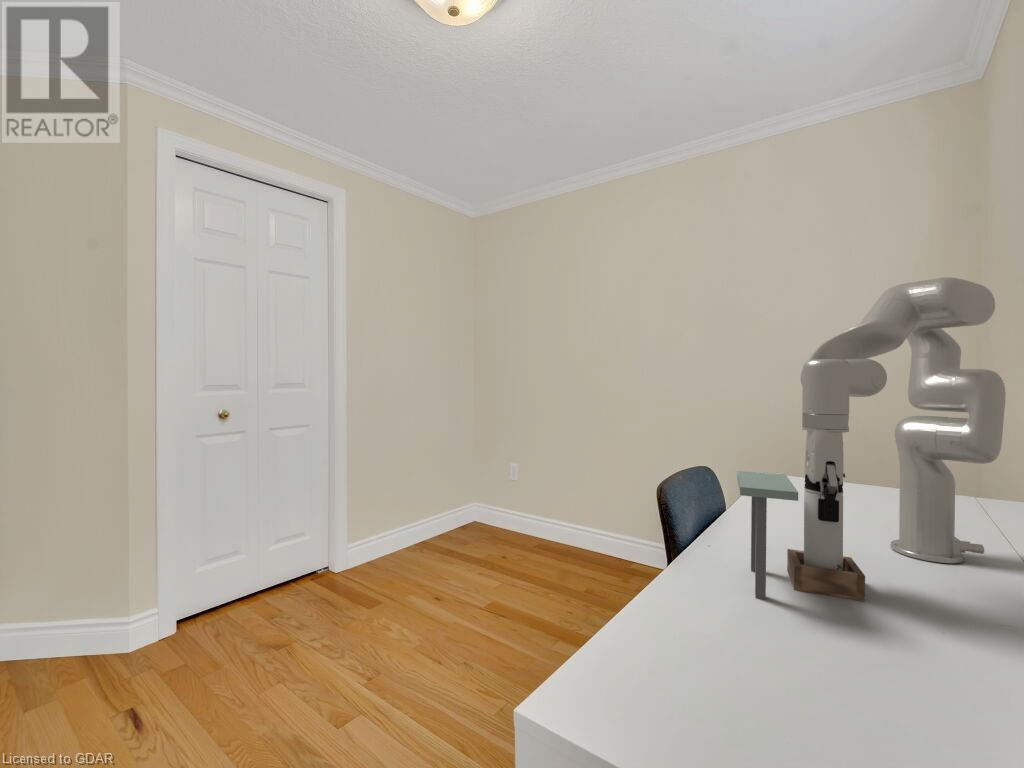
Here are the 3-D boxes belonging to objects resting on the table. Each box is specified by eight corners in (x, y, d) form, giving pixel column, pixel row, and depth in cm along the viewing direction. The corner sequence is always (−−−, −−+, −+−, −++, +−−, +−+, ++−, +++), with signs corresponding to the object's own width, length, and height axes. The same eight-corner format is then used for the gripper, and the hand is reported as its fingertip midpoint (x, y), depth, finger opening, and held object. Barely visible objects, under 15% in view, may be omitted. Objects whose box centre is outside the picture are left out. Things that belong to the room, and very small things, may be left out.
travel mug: (851, 583, 86) (852, 476, 86) (811, 580, 87) (812, 474, 87) (835, 570, 92) (835, 469, 92) (798, 567, 94) (799, 468, 93)
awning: (784, 571, 96) (785, 474, 96) (797, 607, 80) (798, 492, 80) (736, 564, 99) (737, 471, 99) (739, 597, 84) (740, 487, 84)
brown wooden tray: (850, 580, 92) (851, 557, 92) (865, 601, 83) (865, 576, 83) (787, 570, 96) (787, 548, 96) (794, 589, 87) (794, 565, 87)
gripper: (795, 419, 99) (795, 503, 99) (810, 426, 83) (809, 526, 83) (838, 420, 96) (837, 507, 96) (861, 428, 80) (860, 531, 80)
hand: (824, 515), depth 90 cm, fingers closed on travel mug, 6 cm apart
